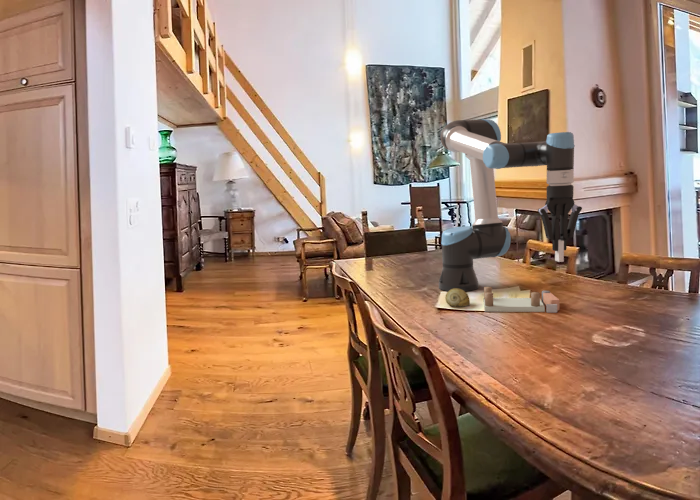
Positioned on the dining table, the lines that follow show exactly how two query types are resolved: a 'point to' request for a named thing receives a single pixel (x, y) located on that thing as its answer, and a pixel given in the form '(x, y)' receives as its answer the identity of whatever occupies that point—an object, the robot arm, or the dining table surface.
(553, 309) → the pale board with pegs
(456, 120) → the robot arm
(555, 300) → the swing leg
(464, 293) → the seashell
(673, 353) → the dining table surface
